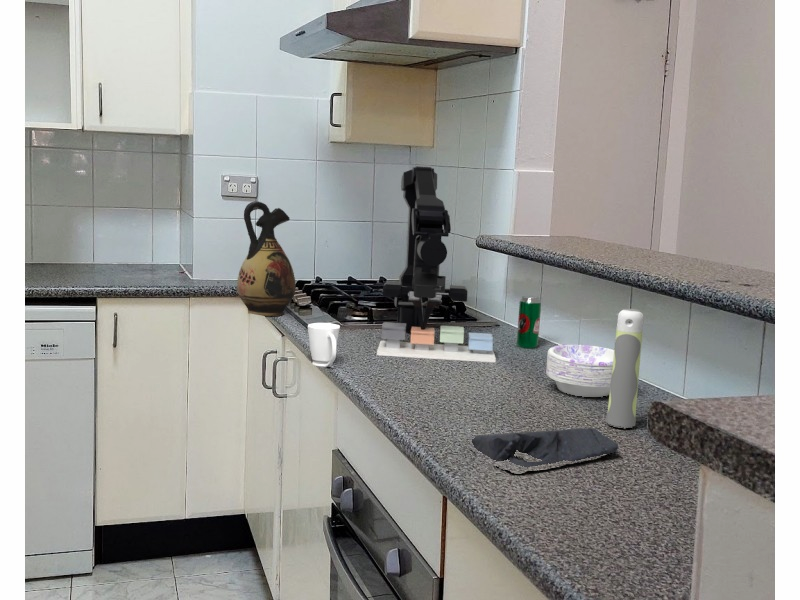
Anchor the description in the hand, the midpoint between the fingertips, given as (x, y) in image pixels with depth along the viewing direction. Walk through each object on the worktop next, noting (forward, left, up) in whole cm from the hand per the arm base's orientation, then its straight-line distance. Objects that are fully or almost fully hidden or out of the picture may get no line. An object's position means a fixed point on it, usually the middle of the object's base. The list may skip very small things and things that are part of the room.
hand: (423, 329), depth 197 cm
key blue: (+11, +7, -3) cm, 13 cm away
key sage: (+5, +3, -2) cm, 7 cm away
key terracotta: (0, 0, -3) cm, 3 cm away
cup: (-6, -26, -5) cm, 28 cm away
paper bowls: (+42, -5, -6) cm, 42 cm away
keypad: (+3, +2, -5) cm, 6 cm away
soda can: (+14, +25, -5) cm, 29 cm away
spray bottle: (+56, -22, -5) cm, 60 cm away
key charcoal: (-5, -4, -2) cm, 7 cm away
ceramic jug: (-56, +7, -5) cm, 57 cm away
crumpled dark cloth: (+52, -45, -6) cm, 69 cm away
